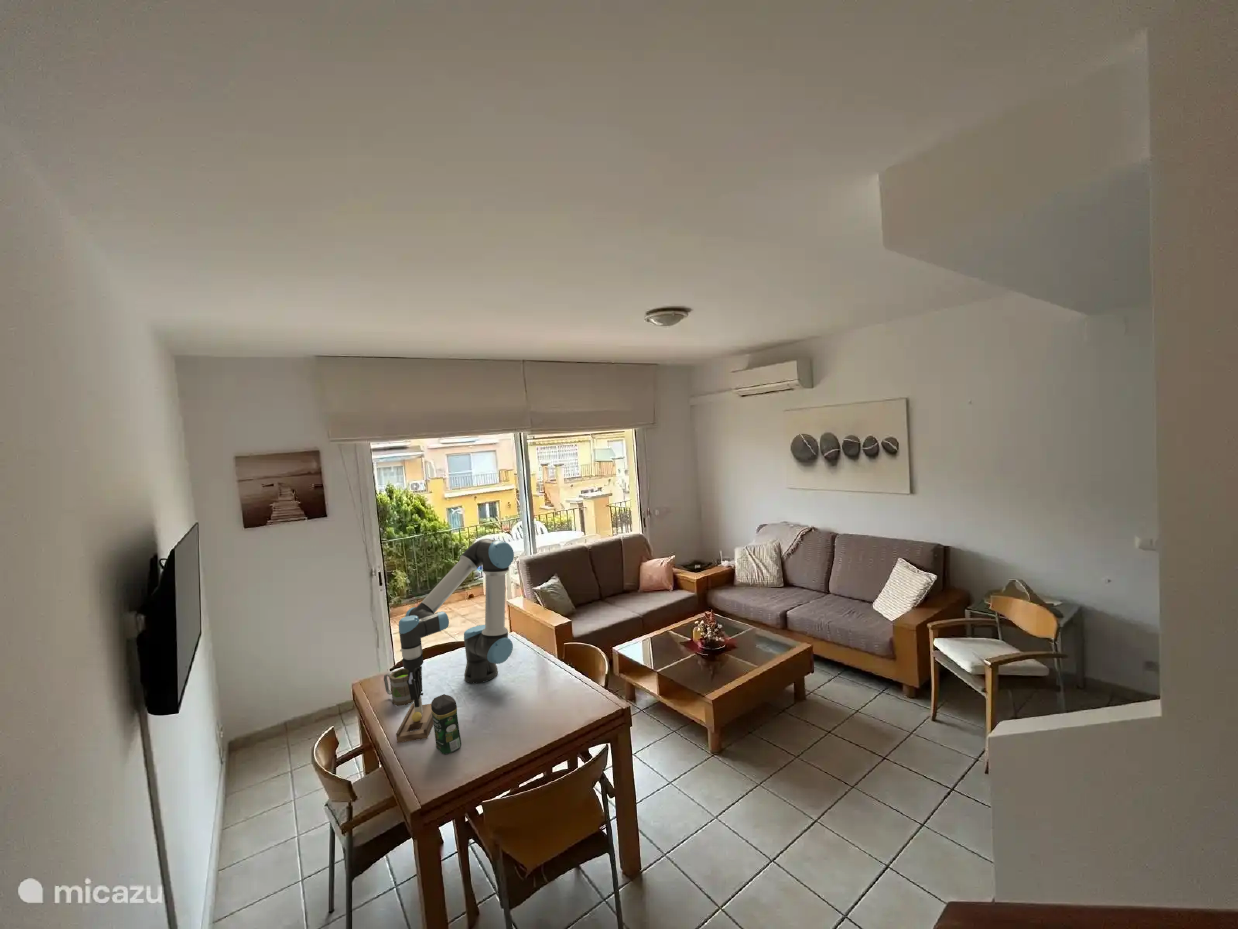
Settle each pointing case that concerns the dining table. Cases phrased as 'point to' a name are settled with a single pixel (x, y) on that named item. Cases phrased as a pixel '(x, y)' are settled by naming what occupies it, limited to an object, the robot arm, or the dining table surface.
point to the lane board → (415, 725)
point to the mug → (398, 687)
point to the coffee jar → (446, 724)
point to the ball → (416, 716)
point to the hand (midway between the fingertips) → (418, 713)
